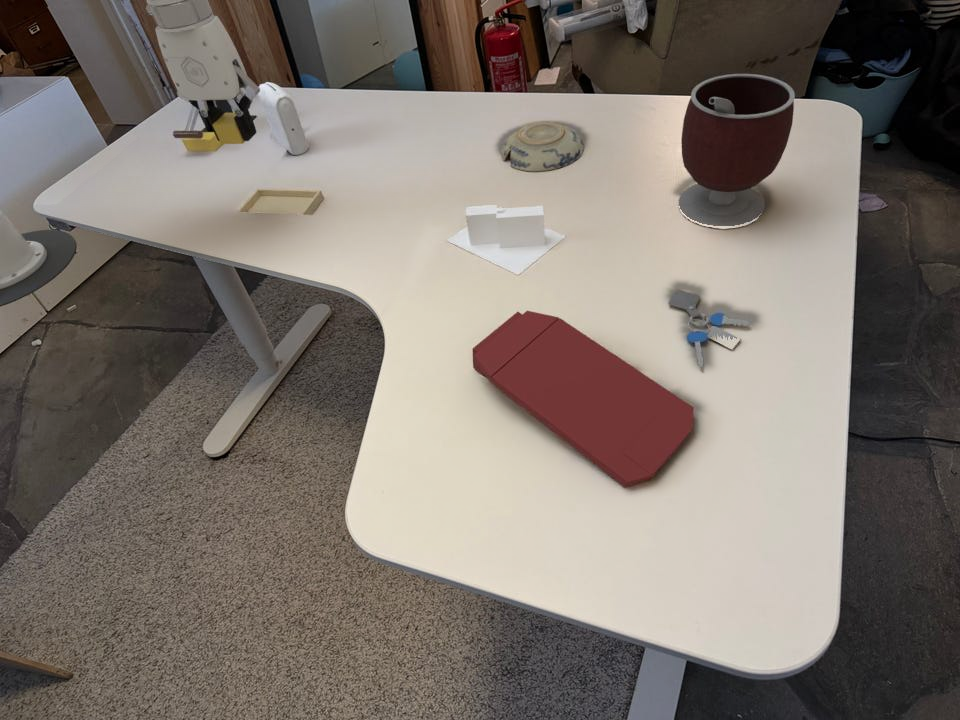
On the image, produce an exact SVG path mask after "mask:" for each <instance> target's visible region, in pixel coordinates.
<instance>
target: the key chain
mask: <svg viewBox="0 0 960 720" xmlns="http://www.w3.org/2000/svg"><path fill="white" fill-rule="evenodd" d="M700 299H701V295H699V294H697V293H693V292H689V291H686V290H682V289H676V290H674V292H673V293H672V296H671V297H670V299H669V301H668V303H667V304H668V305H669V306H672V307H674V308H675V307H676V308H679V309H681V310H685V311H686V312H687V313H688V315H689V316H690V317H689V321H688V322H687V325H688V328H689V329H690V331H691V332H689V333H687V335H686V340H687V341H688V342H689V343H692V344H694V347H695V353H696V358H697V362H698V367H699V369H702V368H703V369H704V356H703V353H702V352H703V350H702V347H701V343H704V342H706V341H707V340H708V339H709V338H708V335H709V336H710V337H712V334H713V336H714V335H715V337H716V339H717V334H718V336H719V337H720V336H721V338H722V339H723V335H724V336H725V338H726V337H727V340H728V337H729V336H730V339H731V340H732V339H733V337H734V338H736V339H737V337H738V336H736V335H734V334H732V333H730V332H728V331H726V330H724V329H722V328H721V327H723V325H727V326H728V325H732V326H734V327H736V326H738V327H741V326H743V327H750V324H751V322H750V320H745V319H740V318H739V319H737V318H732V317H728V316H727V315H726V314H725V313H723V312H715V313H713V314H711V315H707V314H705V313H702V312H700V311H699V310H698V309H697V307H696V306H697V304H698V302H699V300H700ZM698 317H702V319H698ZM695 318H696V319H695ZM695 321H698V322H702V323H698V322H695ZM690 323H691V324H692V325H694V326H696V327H697V326H698V327H704V326H707V327H708V329H707V330H706V331H703V330H693V329H692V328H691V327H690ZM709 323H711V325H712V326H710V325H709ZM719 327H720V328H719ZM741 341H742V340H741V338H740V342H741Z"/></svg>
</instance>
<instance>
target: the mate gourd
mask: <svg viewBox="0 0 960 720" xmlns="http://www.w3.org/2000/svg"><path fill="white" fill-rule="evenodd" d="M795 98H796V94H795V90H794V89H793V88H792V87H791V86H790V85H789V84H788V83H786V82H784V81H783V80H780V79H778V78H775V77H773V76H767V75H763V74H755V73H732V74H724V75H723V74H722V75H717V76H714V77H710V78H708V79H706V80H704V81H701V82H700V83H698V84H697V85H696V86H694V88H693V89H692V90H691V93H690V99H689V101H688V103H687V106H686V109H685V113H684V117H683V123H682V132H681V157H682V164H683V167H684V168H685V170H686V171H687V173H688V174H689V176H690V177H691V178H692V179H693V181H694V182H695V184H692V185H691V186H689V187H687V188H686V189H685V190H684V191H682V193H681V194H680V196H679V199H678V205H679V206H680V209H681V210H682V212H683V213H684V214H685V215H686V216H687V217H689V218H690V219H692V220H694V221H697V222H699V223H702V224H707V225H713V226H735V225H740V224H744V223H746V222H750V221H752V220H753V219H755V218H757V217H758V216H759V215H760V214H761V213H762V212H763V213H764V210H765V207H766V206H765V205H766V203H765V200H764V198H763V196H762V195H761V194H760V192H758V191H757V190H755V189H754V187H756V186H757V185H759V184H760V183H762V181H764V180H765V179H767V178H768V177H769V176H771V175H772V174H773V173H774V171H775V170H776V168H777V167H778V165H779V164H780V161H781V159H782V158H783V155H784V152H785V150H786V148H787V146H788V142H789V138H790V135H791V130H792V126H793V120H794V110H795V107H794V106H795V101H794V100H795Z"/></svg>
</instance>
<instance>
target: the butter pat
mask: <svg viewBox="0 0 960 720" xmlns="http://www.w3.org/2000/svg"><path fill="white" fill-rule="evenodd" d="M235 116H236V114H235V112H233V113H224V114H223V115H222V116H221V117H220V118H219V119H218V120H217V121H216V122H215V123H214V124H213V127H214V129H215V131H216V134H217V136H218V138H219V140H220V142H221V144H223V145H229V144H230V145H243V144H244V143H246V141H244V140H243V138H242V136H241V133H240V131H239V129H238V126H237V124H236V122H235V120H234V117H235Z"/></svg>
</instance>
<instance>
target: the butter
mask: <svg viewBox="0 0 960 720" xmlns="http://www.w3.org/2000/svg"><path fill="white" fill-rule="evenodd" d="M202 133H203V137H202V138H181V142H182V143H183V146H184V147H185V149H186V151H187V152H217V150H219V149H220V147H222V146H223V145H224V144H221V142H220V141H218V140H217V138H216V136H215V133H214V132H202Z"/></svg>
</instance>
